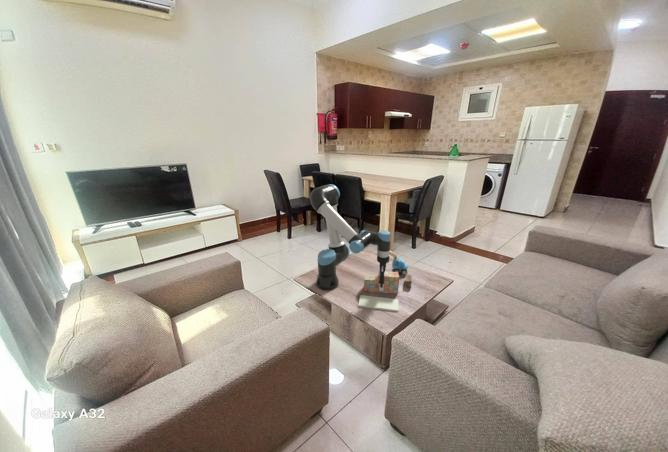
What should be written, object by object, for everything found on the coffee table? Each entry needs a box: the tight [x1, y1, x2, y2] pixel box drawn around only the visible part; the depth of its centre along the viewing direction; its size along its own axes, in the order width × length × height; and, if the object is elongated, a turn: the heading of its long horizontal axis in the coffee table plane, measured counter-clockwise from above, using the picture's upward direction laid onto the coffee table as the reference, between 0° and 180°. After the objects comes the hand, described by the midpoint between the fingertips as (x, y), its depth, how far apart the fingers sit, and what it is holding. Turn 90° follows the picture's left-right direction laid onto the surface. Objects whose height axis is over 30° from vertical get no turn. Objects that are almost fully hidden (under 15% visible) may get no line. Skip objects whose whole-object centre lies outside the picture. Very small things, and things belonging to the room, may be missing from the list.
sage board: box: [357, 294, 399, 312], centre depth 152 cm, size 23×10×1 cm, turn 77°
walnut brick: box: [404, 273, 413, 289], centre depth 170 cm, size 4×8×5 cm, turn 163°
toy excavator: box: [389, 251, 409, 276], centre depth 183 cm, size 9×17×17 cm, turn 80°
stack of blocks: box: [363, 270, 400, 294], centre depth 163 cm, size 21×6×12 cm, turn 84°
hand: (381, 286), depth 165 cm, fingers open, 8 cm apart
